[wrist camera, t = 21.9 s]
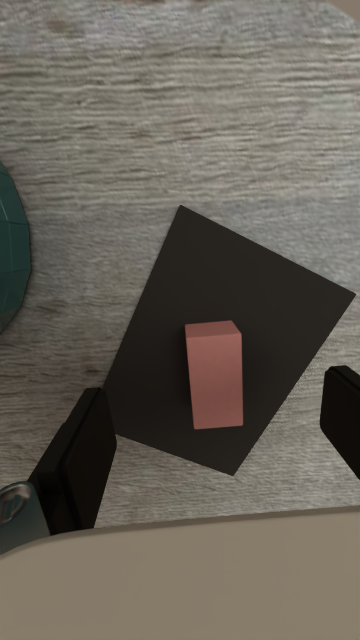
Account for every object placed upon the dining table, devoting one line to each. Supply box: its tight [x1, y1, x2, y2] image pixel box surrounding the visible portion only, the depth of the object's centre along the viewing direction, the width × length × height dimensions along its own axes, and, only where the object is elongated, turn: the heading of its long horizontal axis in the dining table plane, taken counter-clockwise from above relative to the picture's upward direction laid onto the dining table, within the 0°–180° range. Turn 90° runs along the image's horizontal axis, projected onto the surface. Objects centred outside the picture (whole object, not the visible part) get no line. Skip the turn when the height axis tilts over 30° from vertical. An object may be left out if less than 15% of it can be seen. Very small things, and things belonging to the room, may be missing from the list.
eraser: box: [185, 320, 243, 429], centre depth 15 cm, size 6×3×2 cm, turn 5°
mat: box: [102, 205, 356, 476], centre depth 17 cm, size 16×12×1 cm
